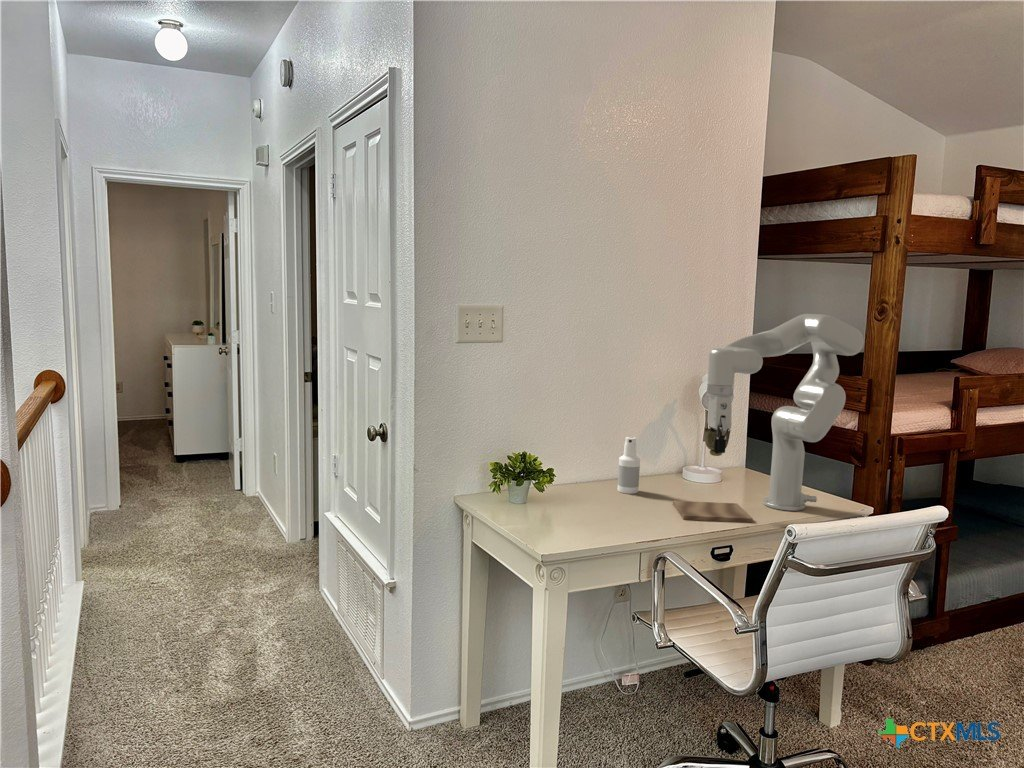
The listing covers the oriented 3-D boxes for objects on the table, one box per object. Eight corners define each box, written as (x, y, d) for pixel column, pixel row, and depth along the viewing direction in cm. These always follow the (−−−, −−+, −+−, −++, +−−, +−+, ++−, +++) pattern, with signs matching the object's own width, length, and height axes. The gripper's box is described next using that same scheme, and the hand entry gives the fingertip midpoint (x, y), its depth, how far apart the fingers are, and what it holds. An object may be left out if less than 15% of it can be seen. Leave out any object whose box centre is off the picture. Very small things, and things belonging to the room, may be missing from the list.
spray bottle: (616, 492, 248) (619, 438, 246) (618, 487, 255) (621, 435, 253) (637, 495, 246) (640, 440, 244) (638, 489, 253) (642, 436, 251)
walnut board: (736, 507, 236) (737, 503, 236) (752, 522, 221) (752, 518, 220) (672, 504, 237) (672, 500, 236) (683, 519, 221) (683, 515, 221)
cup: (699, 452, 230) (701, 426, 229) (723, 452, 231) (725, 426, 230) (707, 457, 223) (709, 430, 222) (732, 458, 223) (734, 431, 222)
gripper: (741, 394, 216) (736, 456, 218) (725, 387, 233) (721, 444, 235) (714, 394, 216) (710, 455, 218) (700, 386, 233) (696, 443, 235)
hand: (716, 449), depth 226 cm, fingers closed on cup, 6 cm apart
